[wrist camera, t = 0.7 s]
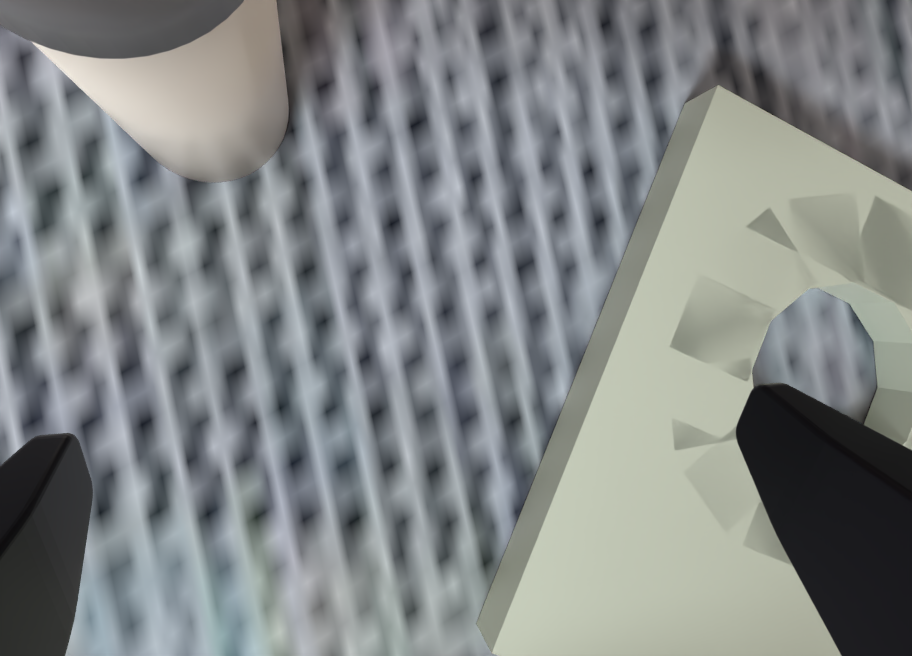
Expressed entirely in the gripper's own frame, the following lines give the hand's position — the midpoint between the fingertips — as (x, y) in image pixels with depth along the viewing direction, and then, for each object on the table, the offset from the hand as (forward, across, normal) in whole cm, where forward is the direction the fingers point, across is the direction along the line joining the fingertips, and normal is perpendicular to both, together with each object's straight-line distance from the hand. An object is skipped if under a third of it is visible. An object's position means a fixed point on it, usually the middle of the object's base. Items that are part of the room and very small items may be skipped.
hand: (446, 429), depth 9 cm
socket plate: (+8, -14, +11) cm, 20 cm away
